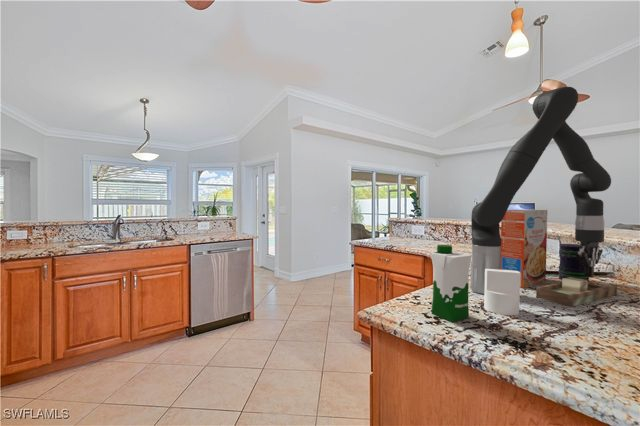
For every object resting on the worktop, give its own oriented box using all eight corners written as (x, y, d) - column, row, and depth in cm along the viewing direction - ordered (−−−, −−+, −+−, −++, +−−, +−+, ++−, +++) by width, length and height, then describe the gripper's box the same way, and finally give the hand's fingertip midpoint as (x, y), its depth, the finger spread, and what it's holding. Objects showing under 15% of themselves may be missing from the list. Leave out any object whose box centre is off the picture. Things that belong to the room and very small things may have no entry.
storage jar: (568, 282, 116) (569, 246, 116) (552, 276, 126) (553, 243, 126) (596, 284, 115) (597, 247, 114) (578, 277, 124) (579, 244, 124)
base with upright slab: (487, 313, 84) (488, 272, 83) (481, 303, 92) (482, 266, 92) (523, 317, 81) (524, 275, 80) (514, 306, 89) (514, 268, 89)
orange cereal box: (523, 288, 108) (524, 210, 107) (500, 283, 115) (501, 210, 114) (545, 279, 121) (547, 209, 120) (523, 275, 128) (525, 209, 127)
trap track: (571, 306, 89) (571, 295, 89) (536, 297, 98) (536, 287, 98) (616, 294, 101) (616, 284, 101) (581, 287, 110) (581, 278, 110)
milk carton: (446, 308, 88) (447, 243, 87) (474, 318, 80) (475, 247, 79) (426, 313, 83) (427, 245, 83) (453, 324, 75) (454, 250, 75)
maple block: (579, 293, 95) (579, 282, 95) (561, 289, 100) (562, 278, 100) (587, 292, 97) (587, 280, 97) (569, 288, 102) (570, 277, 102)
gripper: (593, 229, 95) (592, 281, 95) (612, 228, 100) (612, 276, 101) (566, 228, 102) (565, 276, 102) (586, 226, 107) (585, 272, 107)
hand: (588, 276), depth 101 cm, fingers closed
